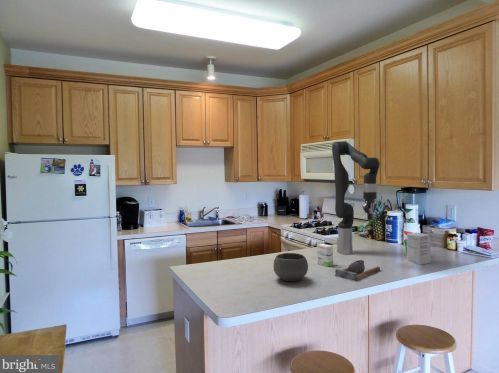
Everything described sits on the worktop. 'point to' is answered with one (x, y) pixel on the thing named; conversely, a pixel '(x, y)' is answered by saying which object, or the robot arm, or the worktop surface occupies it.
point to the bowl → (290, 266)
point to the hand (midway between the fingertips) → (369, 219)
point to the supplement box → (418, 248)
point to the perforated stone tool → (356, 267)
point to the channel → (354, 276)
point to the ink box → (325, 254)
